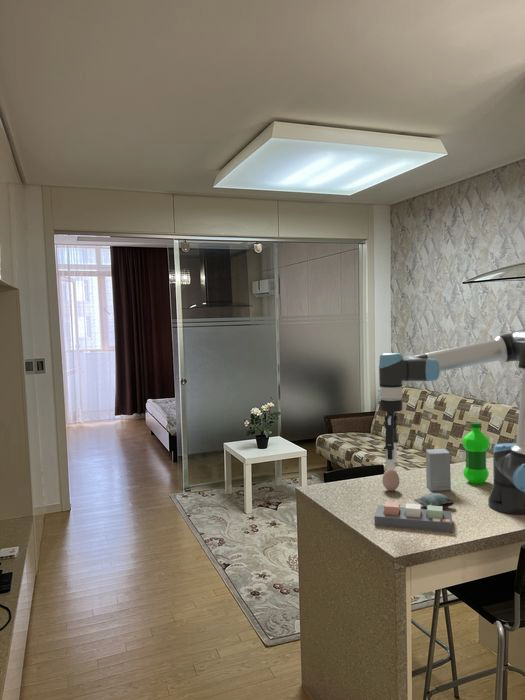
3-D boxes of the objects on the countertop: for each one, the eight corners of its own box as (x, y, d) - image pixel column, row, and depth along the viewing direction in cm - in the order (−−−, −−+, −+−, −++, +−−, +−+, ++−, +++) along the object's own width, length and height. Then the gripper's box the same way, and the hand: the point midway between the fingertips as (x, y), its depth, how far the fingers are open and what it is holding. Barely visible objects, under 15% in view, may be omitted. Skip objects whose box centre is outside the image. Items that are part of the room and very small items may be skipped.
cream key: (420, 516, 181) (420, 504, 180) (420, 521, 176) (420, 509, 176) (406, 514, 182) (406, 503, 182) (405, 519, 178) (405, 508, 177)
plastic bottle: (490, 480, 223) (490, 421, 222) (487, 487, 214) (486, 426, 213) (465, 477, 228) (465, 419, 227) (461, 484, 219) (460, 424, 218)
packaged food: (413, 506, 195) (413, 493, 195) (439, 501, 200) (439, 488, 199) (429, 514, 187) (429, 500, 187) (455, 509, 192) (455, 495, 191)
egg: (398, 488, 216) (397, 466, 215) (400, 493, 209) (400, 470, 208) (381, 488, 216) (381, 466, 216) (383, 493, 210) (383, 470, 209)
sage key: (442, 517, 178) (442, 506, 178) (442, 523, 174) (442, 511, 174) (427, 516, 180) (427, 505, 180) (427, 521, 175) (427, 509, 175)
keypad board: (451, 520, 180) (451, 510, 180) (452, 532, 170) (452, 522, 170) (378, 513, 188) (377, 504, 188) (374, 524, 178) (374, 515, 178)
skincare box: (445, 486, 217) (445, 447, 216) (451, 491, 210) (451, 452, 209) (425, 486, 217) (424, 448, 216) (430, 492, 210) (429, 452, 209)
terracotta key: (399, 514, 183) (399, 502, 183) (398, 519, 178) (398, 507, 178) (385, 512, 184) (385, 501, 184) (384, 517, 180) (384, 506, 180)
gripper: (382, 394, 190) (383, 456, 192) (376, 403, 170) (376, 472, 171) (404, 394, 188) (404, 457, 189) (400, 404, 168) (400, 474, 169)
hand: (391, 464), depth 180 cm, fingers open, 9 cm apart
